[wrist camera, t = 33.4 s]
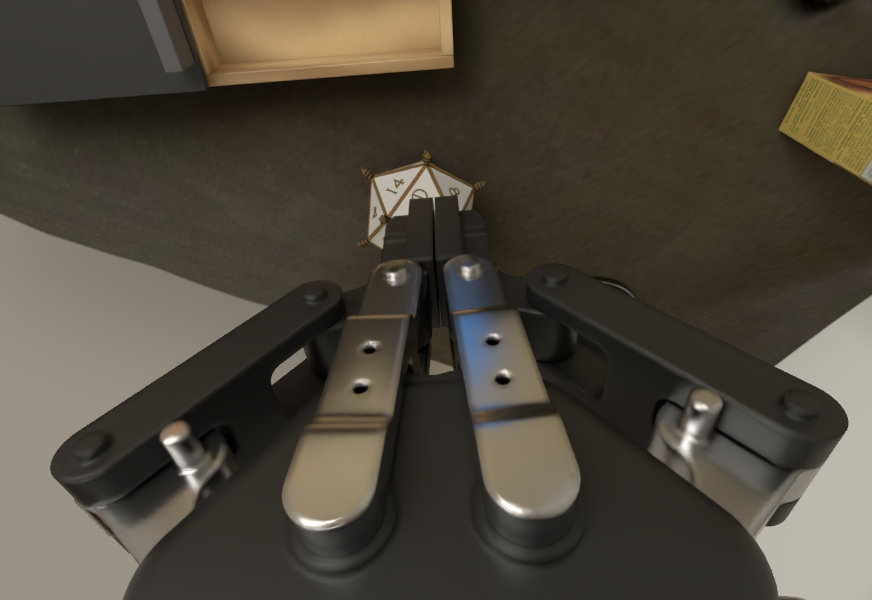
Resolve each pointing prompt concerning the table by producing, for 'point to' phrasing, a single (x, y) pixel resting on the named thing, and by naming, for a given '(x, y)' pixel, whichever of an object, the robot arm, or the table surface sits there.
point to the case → (318, 38)
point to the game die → (410, 193)
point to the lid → (95, 50)
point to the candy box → (834, 121)
